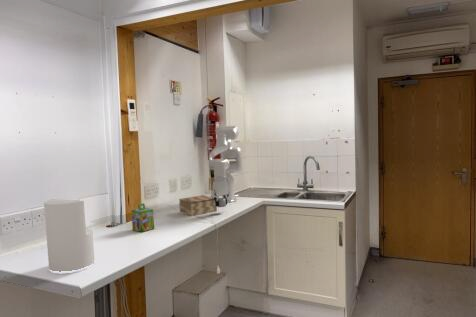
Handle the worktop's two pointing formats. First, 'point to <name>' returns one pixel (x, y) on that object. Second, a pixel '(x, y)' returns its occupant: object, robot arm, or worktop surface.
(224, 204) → the grey knob post
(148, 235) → the worktop surface
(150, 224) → the green lunch box
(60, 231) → the cylinder
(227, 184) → the robot arm
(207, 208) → the storage box
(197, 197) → the lid
